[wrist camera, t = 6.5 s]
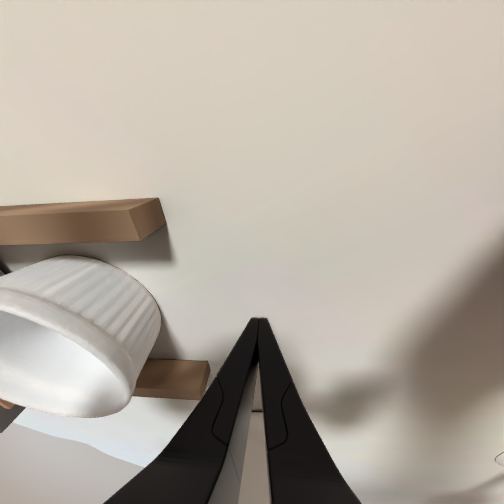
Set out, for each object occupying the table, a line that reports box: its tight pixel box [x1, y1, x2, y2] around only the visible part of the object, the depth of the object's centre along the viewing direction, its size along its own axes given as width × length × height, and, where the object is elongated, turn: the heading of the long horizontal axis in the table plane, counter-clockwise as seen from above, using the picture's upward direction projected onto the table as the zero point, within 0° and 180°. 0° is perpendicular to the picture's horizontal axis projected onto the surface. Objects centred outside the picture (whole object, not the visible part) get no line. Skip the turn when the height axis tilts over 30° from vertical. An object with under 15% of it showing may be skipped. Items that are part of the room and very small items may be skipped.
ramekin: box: [0, 255, 161, 418], centre depth 10 cm, size 9×9×4 cm
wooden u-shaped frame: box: [0, 198, 210, 400], centre depth 10 cm, size 17×13×4 cm
